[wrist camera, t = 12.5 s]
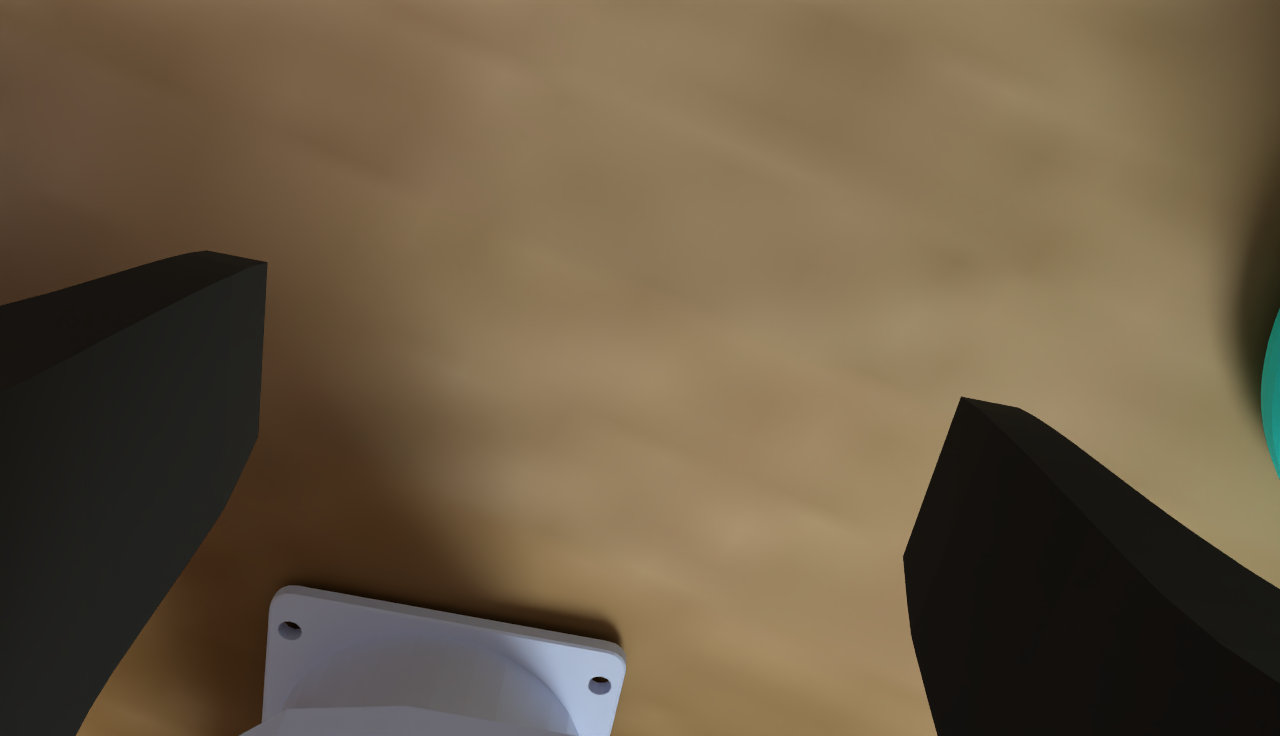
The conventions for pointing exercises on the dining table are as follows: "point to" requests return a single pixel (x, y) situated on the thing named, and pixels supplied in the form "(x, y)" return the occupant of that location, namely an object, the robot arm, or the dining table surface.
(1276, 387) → the donuts
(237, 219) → the dining table surface
